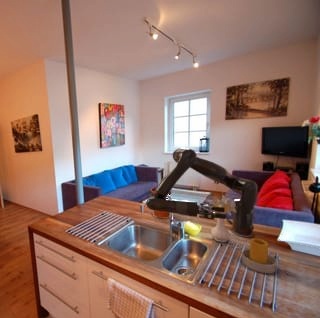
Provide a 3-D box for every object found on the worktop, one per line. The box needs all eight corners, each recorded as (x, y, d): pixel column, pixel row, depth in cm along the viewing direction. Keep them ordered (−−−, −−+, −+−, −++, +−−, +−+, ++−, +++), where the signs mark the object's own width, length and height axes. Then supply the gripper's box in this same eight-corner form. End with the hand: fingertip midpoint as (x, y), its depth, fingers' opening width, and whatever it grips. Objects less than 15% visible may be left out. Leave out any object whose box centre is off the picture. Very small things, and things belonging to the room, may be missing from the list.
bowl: (235, 256, 100) (235, 249, 99) (262, 257, 98) (263, 249, 98) (252, 273, 88) (253, 265, 88) (284, 274, 86) (284, 265, 86)
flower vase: (207, 245, 111) (207, 202, 107) (208, 230, 126) (208, 192, 122) (236, 252, 103) (238, 205, 100) (234, 235, 118) (235, 194, 115)
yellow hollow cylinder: (246, 259, 96) (247, 238, 95) (260, 259, 96) (261, 238, 94) (255, 267, 91) (256, 245, 89) (270, 268, 90) (271, 245, 88)
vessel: (150, 218, 148) (149, 192, 146) (151, 210, 161) (151, 186, 159) (171, 220, 143) (171, 193, 140) (171, 212, 156) (170, 187, 153)
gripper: (185, 206, 98) (226, 211, 89) (187, 197, 109) (224, 200, 101) (185, 220, 99) (225, 227, 90) (187, 210, 110) (223, 214, 102)
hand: (225, 213), depth 95 cm, fingers open, 8 cm apart
